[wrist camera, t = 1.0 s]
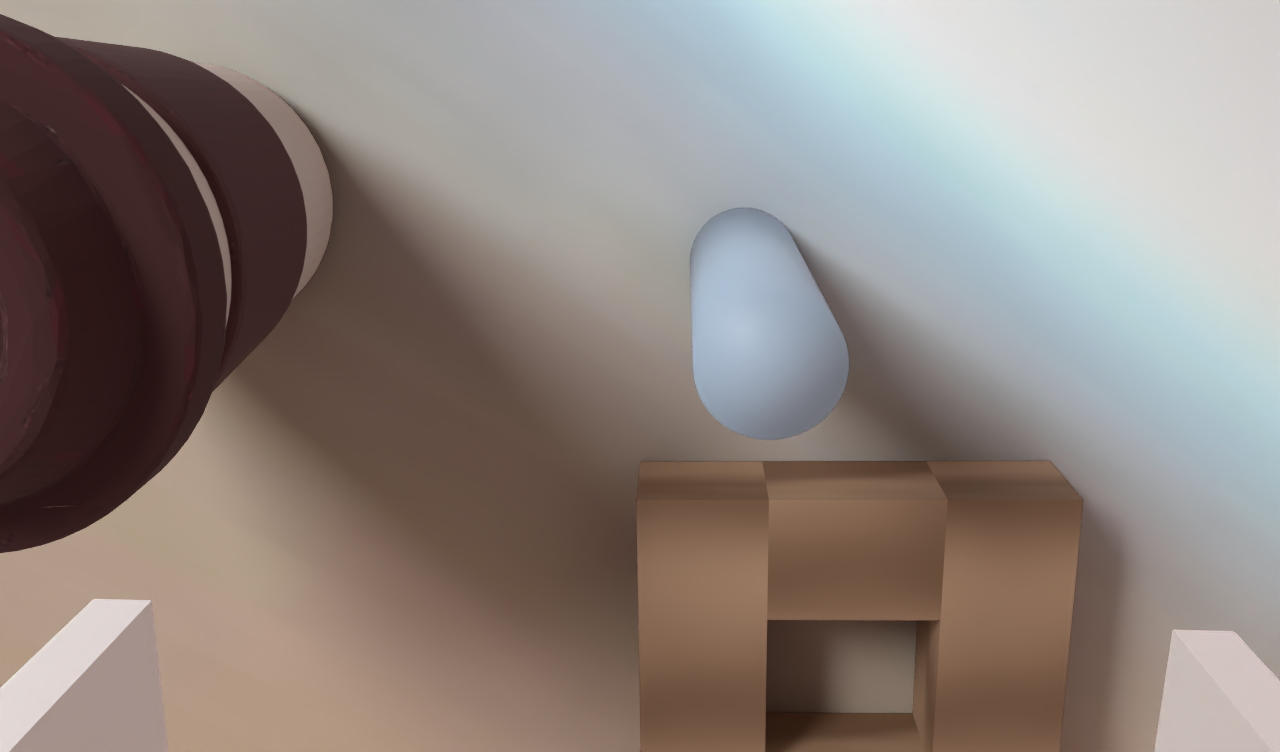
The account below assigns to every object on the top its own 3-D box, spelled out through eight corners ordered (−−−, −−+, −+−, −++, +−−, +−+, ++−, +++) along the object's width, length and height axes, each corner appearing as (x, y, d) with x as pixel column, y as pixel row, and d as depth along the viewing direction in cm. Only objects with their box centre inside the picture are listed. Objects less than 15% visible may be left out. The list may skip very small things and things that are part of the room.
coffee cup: (451, 261, 34) (279, 431, 19) (172, 422, 36) (-177, 689, 21) (253, -60, 32) (-108, -136, 17) (-35, 128, 33) (-584, 202, 19)
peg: (689, 208, 33) (692, 290, 23) (797, 207, 33) (851, 289, 22) (690, 312, 34) (693, 440, 23) (795, 312, 34) (846, 439, 23)
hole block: (640, 461, 35) (636, 500, 32) (1050, 460, 35) (1083, 499, 32) (646, 809, 39) (642, 872, 36) (1020, 813, 38) (1047, 876, 35)
